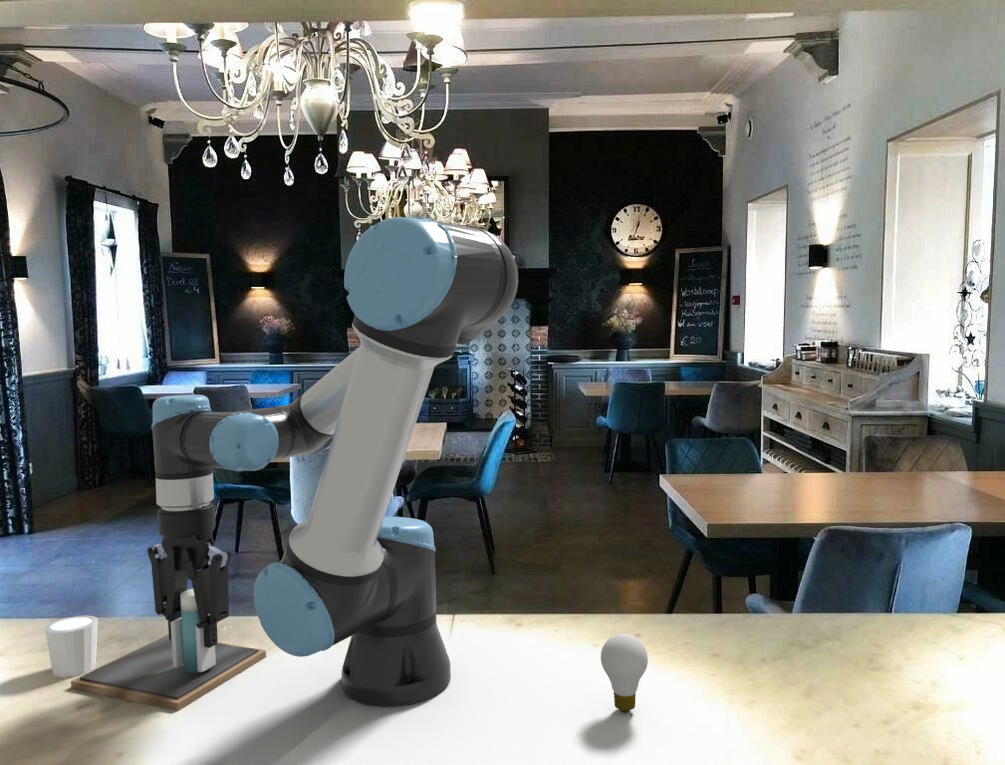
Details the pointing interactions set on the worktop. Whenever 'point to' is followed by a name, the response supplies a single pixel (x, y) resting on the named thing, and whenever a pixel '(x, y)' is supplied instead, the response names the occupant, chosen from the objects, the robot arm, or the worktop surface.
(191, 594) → the teal bottle
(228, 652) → the slate board
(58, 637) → the white tapered cup
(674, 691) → the worktop surface
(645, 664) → the light bulb
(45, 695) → the worktop surface
